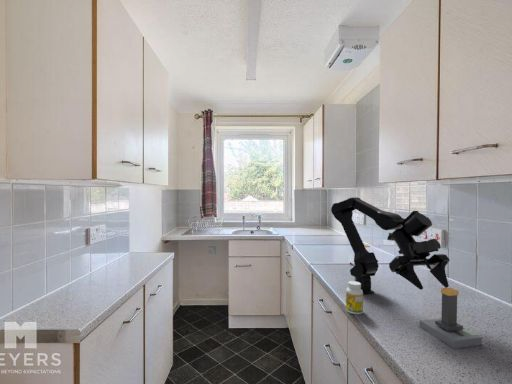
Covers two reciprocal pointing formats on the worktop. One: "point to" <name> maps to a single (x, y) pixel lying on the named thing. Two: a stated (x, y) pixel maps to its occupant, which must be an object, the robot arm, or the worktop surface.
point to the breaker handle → (449, 310)
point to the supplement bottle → (354, 298)
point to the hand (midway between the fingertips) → (434, 288)
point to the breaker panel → (451, 334)
